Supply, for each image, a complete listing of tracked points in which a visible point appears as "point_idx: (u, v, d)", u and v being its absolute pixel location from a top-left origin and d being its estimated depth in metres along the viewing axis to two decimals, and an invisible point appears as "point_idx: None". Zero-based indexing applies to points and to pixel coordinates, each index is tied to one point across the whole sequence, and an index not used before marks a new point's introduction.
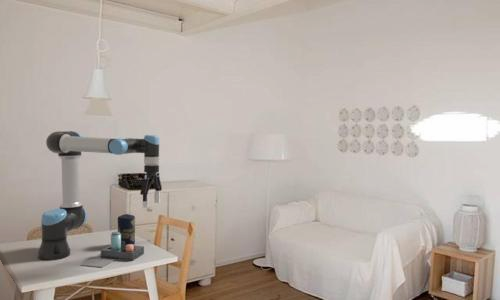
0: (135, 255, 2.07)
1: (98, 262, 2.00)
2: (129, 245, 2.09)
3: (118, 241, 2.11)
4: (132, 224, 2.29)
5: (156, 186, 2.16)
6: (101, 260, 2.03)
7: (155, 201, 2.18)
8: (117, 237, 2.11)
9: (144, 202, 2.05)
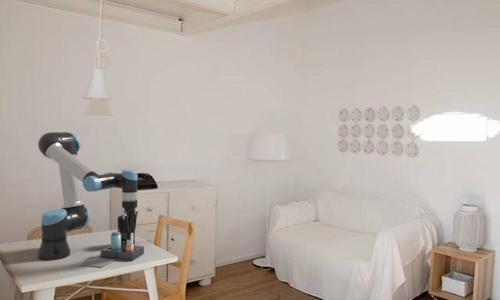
0: (135, 255, 2.07)
1: (98, 262, 2.00)
2: None
3: (118, 241, 2.11)
4: None
5: (131, 225, 2.09)
6: (101, 260, 2.03)
7: None
8: (117, 237, 2.11)
9: (128, 240, 2.08)
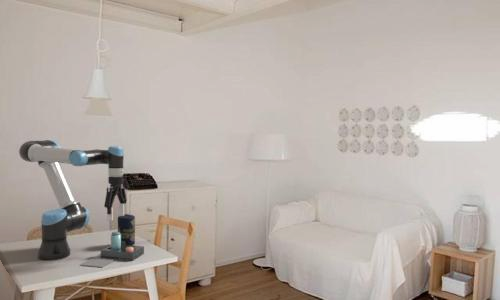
0: (135, 255, 2.07)
1: (98, 262, 2.00)
2: (129, 248, 2.09)
3: (118, 241, 2.11)
4: (132, 224, 2.29)
5: (120, 198, 2.16)
6: (101, 260, 2.03)
7: (120, 214, 2.17)
8: (117, 237, 2.11)
9: (109, 215, 2.06)
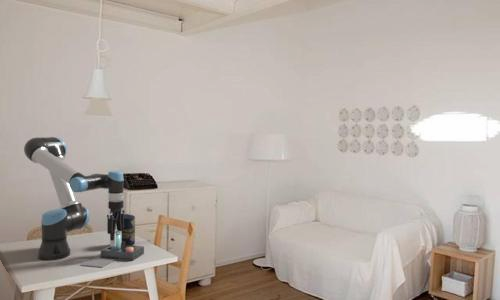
0: (135, 255, 2.07)
1: (98, 262, 2.00)
2: (129, 248, 2.09)
3: (118, 241, 2.11)
4: (132, 224, 2.29)
5: (118, 224, 2.15)
6: (101, 260, 2.03)
7: None
8: (117, 237, 2.11)
9: (112, 241, 2.10)
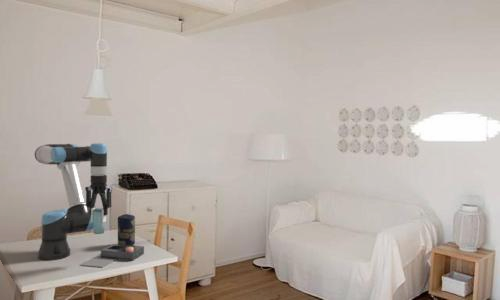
0: (135, 255, 2.07)
1: (98, 262, 2.00)
2: (129, 248, 2.09)
3: None
4: (132, 224, 2.29)
5: (94, 201, 2.01)
6: (101, 260, 2.03)
7: None
8: None
9: (104, 216, 1.99)
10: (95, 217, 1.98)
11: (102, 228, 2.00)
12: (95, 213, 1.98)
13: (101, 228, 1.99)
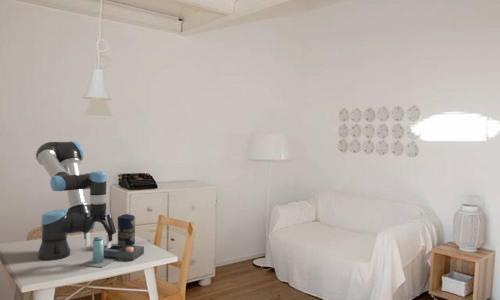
0: (135, 255, 2.07)
1: None
2: (129, 248, 2.09)
3: None
4: (132, 224, 2.29)
5: (90, 227, 2.01)
6: None
7: (87, 244, 2.01)
8: None
9: (109, 242, 1.99)
10: (94, 246, 1.98)
11: (102, 257, 2.00)
12: (94, 242, 1.98)
13: (100, 258, 1.99)
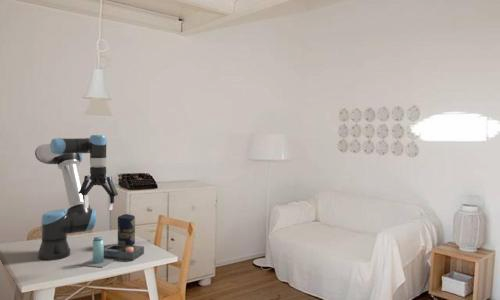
0: (135, 255, 2.07)
1: None
2: (129, 248, 2.09)
3: None
4: (132, 224, 2.29)
5: (89, 190, 2.01)
6: None
7: (86, 206, 2.01)
8: None
9: (110, 204, 1.98)
10: (94, 246, 1.98)
11: (102, 257, 2.00)
12: (94, 242, 1.98)
13: (100, 258, 1.99)
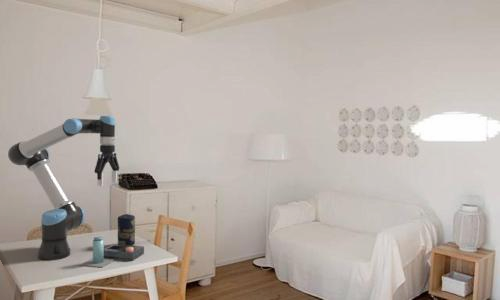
0: (135, 255, 2.07)
1: None
2: (129, 248, 2.09)
3: None
4: (132, 224, 2.29)
5: (113, 166, 2.23)
6: None
7: (112, 181, 2.24)
8: None
9: (99, 180, 2.11)
10: (94, 246, 1.98)
11: (102, 257, 2.00)
12: (94, 242, 1.98)
13: (100, 258, 1.99)
